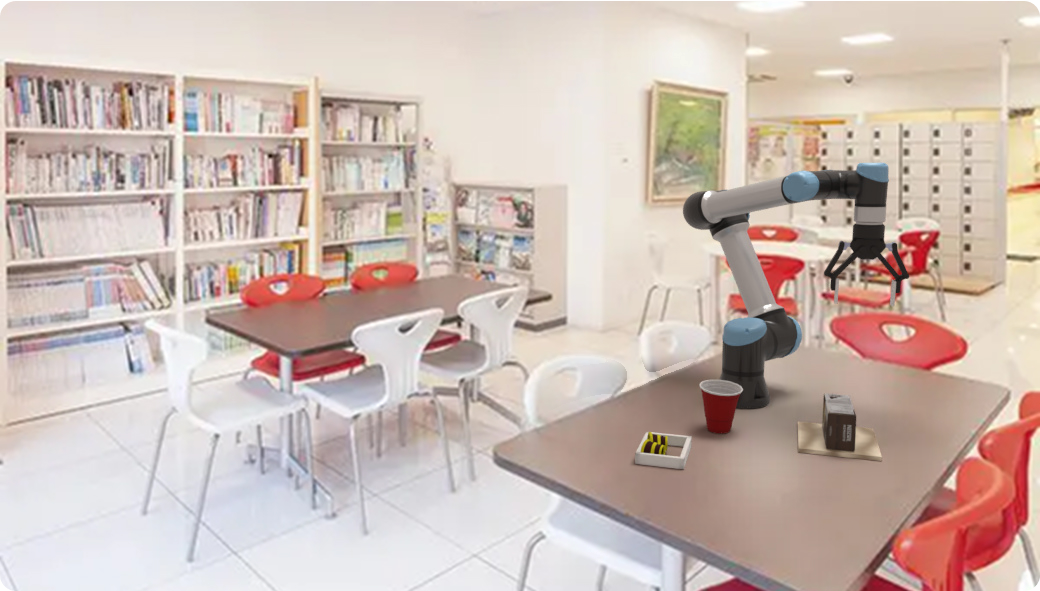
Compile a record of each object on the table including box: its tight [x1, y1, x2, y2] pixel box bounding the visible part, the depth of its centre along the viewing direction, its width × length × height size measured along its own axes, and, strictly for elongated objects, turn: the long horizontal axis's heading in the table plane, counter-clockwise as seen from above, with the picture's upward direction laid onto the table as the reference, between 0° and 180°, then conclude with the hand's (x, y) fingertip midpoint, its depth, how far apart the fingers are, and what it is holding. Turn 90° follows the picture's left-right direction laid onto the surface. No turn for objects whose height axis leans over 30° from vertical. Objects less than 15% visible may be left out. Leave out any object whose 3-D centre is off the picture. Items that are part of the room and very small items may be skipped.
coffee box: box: [821, 393, 857, 451], centre depth 187 cm, size 9×6×16 cm
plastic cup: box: [699, 379, 743, 435], centre depth 197 cm, size 11×11×12 cm
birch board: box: [797, 421, 883, 462], centre depth 189 cm, size 18×20×1 cm
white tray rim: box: [634, 431, 693, 470], centre depth 182 cm, size 11×15×2 cm
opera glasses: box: [641, 431, 669, 455], centre depth 180 cm, size 10×5×5 cm, turn 161°
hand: (863, 304), depth 202 cm, fingers open, 13 cm apart
